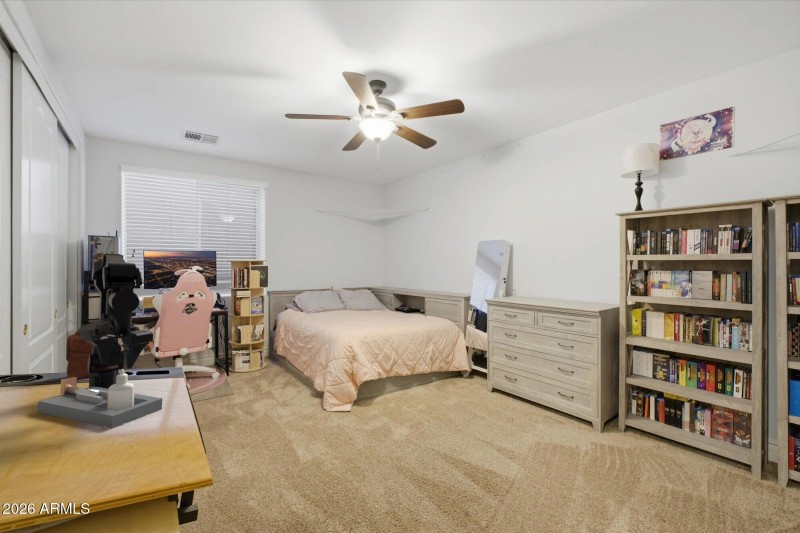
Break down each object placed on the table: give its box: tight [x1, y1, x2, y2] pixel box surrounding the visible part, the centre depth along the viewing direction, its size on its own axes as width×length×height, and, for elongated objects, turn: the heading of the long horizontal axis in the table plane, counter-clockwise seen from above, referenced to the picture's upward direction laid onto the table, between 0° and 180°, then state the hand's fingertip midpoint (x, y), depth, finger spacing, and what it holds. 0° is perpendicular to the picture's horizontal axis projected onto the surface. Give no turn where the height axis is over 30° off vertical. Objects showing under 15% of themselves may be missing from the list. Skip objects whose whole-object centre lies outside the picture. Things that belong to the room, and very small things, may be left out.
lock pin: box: [60, 377, 101, 396], centre depth 103 cm, size 3×12×4 cm, turn 73°
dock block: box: [37, 386, 163, 429], centre depth 100 cm, size 14×27×4 cm, turn 73°
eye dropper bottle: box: [107, 369, 135, 411], centre depth 98 cm, size 4×6×12 cm
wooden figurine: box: [65, 328, 94, 379], centre depth 130 cm, size 12×6×18 cm, turn 137°
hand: (116, 366), depth 99 cm, fingers open, 9 cm apart
